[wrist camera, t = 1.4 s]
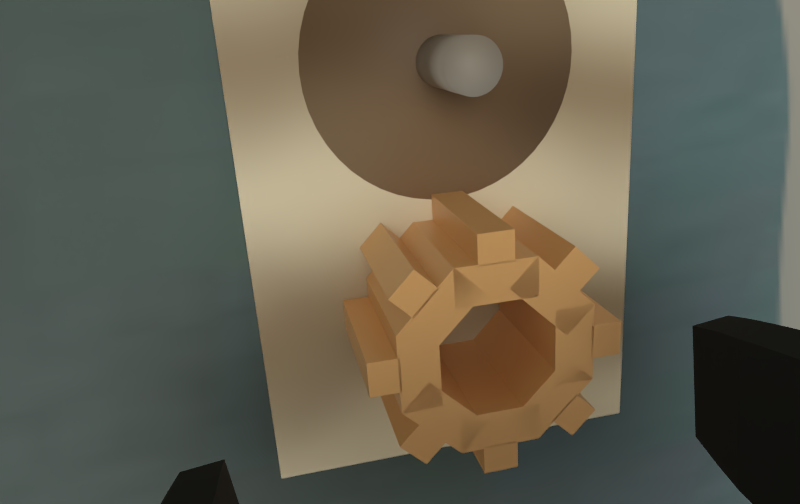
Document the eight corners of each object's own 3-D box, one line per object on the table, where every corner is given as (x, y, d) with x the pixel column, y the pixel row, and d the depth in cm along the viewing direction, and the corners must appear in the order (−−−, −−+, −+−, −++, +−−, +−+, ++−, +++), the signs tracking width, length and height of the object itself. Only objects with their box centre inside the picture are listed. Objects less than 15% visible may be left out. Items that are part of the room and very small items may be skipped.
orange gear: (593, 276, 18) (668, 329, 15) (457, 429, 19) (502, 512, 16) (444, 145, 16) (495, 173, 13) (297, 321, 17) (310, 390, 14)
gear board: (602, 396, 21) (736, 529, 15) (279, 457, 19) (295, 635, 13) (629, -415, 15) (876, -702, 9) (145, -442, 13) (67, -824, 7)
